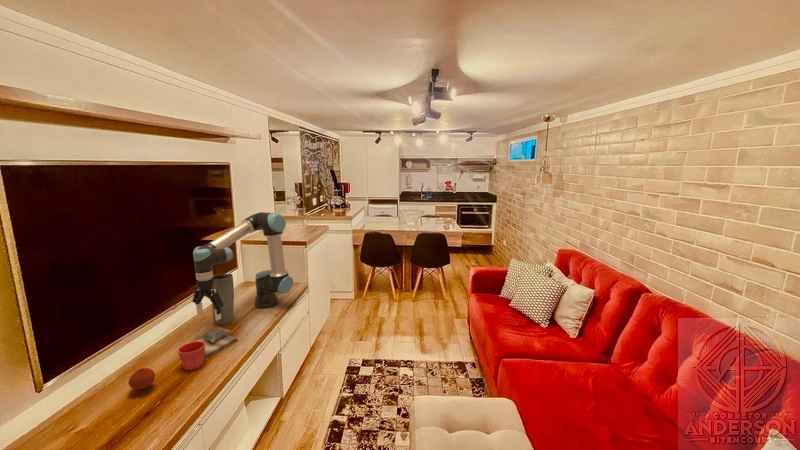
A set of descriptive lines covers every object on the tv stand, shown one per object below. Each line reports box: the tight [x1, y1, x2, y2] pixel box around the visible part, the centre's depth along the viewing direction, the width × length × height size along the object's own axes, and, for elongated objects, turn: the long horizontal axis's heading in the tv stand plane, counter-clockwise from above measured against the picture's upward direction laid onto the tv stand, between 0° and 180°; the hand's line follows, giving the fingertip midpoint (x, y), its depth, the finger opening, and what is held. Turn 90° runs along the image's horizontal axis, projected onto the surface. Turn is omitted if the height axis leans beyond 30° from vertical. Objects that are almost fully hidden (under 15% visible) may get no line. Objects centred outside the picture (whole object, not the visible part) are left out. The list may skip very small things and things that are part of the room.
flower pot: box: [177, 340, 205, 371], centre depth 153 cm, size 11×11×10 cm
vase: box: [211, 273, 235, 326], centre depth 195 cm, size 12×12×30 cm
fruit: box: [128, 367, 156, 390], centre depth 137 cm, size 9×9×8 cm
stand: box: [194, 334, 238, 358], centre depth 171 cm, size 18×18×2 cm
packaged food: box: [200, 327, 232, 342], centre depth 174 cm, size 9×12×5 cm
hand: (209, 317), depth 169 cm, fingers open, 13 cm apart
